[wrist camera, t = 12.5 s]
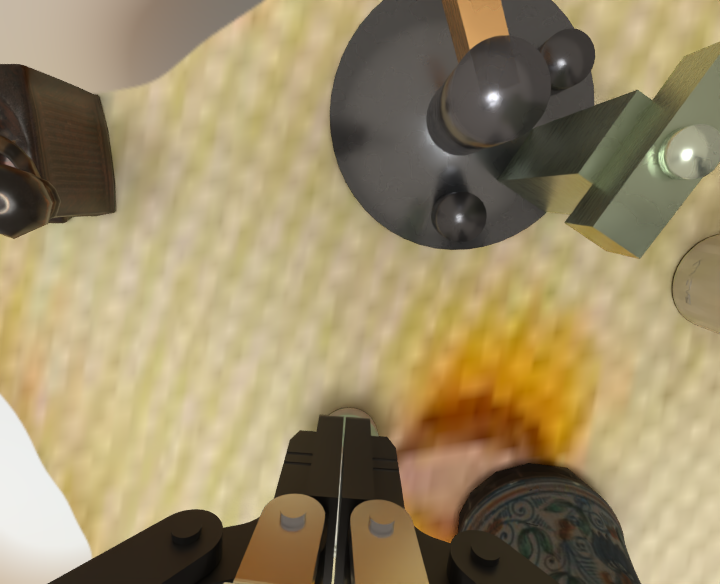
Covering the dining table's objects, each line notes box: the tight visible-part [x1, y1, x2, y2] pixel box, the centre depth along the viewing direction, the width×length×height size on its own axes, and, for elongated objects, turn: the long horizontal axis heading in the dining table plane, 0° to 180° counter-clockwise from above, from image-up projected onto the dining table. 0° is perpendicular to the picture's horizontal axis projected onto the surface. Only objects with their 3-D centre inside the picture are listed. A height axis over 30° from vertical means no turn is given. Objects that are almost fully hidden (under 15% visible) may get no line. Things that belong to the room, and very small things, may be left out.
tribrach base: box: [330, 0, 720, 259], centre depth 28 cm, size 22×22×20 cm
